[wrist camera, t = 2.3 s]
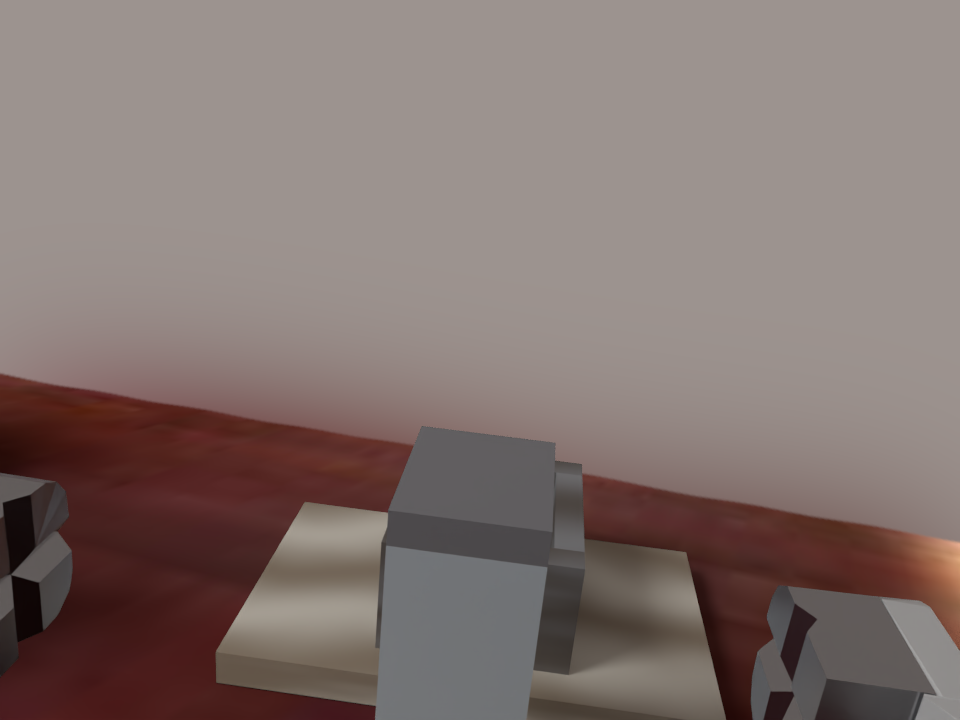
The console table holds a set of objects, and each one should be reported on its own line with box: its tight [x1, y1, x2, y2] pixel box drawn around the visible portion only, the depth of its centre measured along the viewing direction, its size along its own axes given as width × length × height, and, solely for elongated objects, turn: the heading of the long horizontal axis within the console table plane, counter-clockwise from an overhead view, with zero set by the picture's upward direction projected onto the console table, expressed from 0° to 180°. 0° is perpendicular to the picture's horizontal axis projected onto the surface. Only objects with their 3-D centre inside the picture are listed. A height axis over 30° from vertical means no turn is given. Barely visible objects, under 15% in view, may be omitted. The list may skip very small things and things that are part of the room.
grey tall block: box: [375, 426, 555, 720], centre depth 25 cm, size 5×4×14 cm
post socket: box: [216, 461, 726, 720], centre depth 38 cm, size 12×20×6 cm, turn 84°
